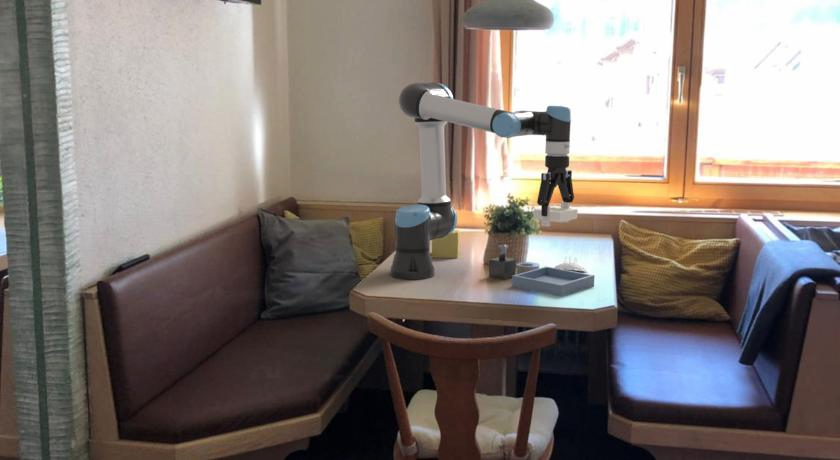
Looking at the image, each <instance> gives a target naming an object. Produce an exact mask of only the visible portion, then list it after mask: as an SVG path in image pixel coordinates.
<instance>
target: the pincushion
mask: <svg viewBox="0 0 840 460" xmlns="http://www.w3.org/2000/svg"><path fill="white" fill-rule="evenodd" d="M565 258H567V256H566V257H565ZM568 259H569V261H568V262H567V261H565V262H561V263H558V264H557V265H555V266H554V267H553V268H557V269H563V270H572V271H574V272H575V271H580V272H582V271H583V272H588V269H586V268H585V266H582V265H581V264H579V263H577V262H578V261H577V258H576V257H575V262H572V261H571V256H569V257H568Z"/></svg>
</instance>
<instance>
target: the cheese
mask: <svg viewBox="0 0 840 460" xmlns="http://www.w3.org/2000/svg"><path fill="white" fill-rule="evenodd" d="M460 252H461V245H460V230H459V229H454V230H453V231H452V233H450V234H449V235H447V236H445V237H443V238H437V239H433V240H431V259H432V258H435V259H437V258H438V259H442V258H443V259H458V258H459V254H460Z"/></svg>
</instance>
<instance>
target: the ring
mask: <svg viewBox="0 0 840 460" xmlns="http://www.w3.org/2000/svg"><path fill="white" fill-rule="evenodd" d="M549 206H550V222H554V223H565V222H564V221H568V220H569V221H573V220H577V219H578V214H579V213H578V209H577V208H572V207H571V208H570V207H569V208H563V207H561V206H554V205H549ZM541 210H542V207H541V208H540V207H539V208H534V209H533V219H534V220H540V221H542V215H541V213H542V212H541Z"/></svg>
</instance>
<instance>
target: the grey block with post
mask: <svg viewBox="0 0 840 460" xmlns="http://www.w3.org/2000/svg"><path fill="white" fill-rule="evenodd" d="M507 249H509V245H508V244H506V243H504V244H499V245H497V250H498V256H497V257H494V258H489V263H488V265H489V266H488V277H489V278H493V279H498V280H502V281H504V280H507V279H512V276H513V275H516V274H517V273H516V272H517V271H516V268H517V262H516V261H517V259H516V258H511V257H507Z"/></svg>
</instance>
